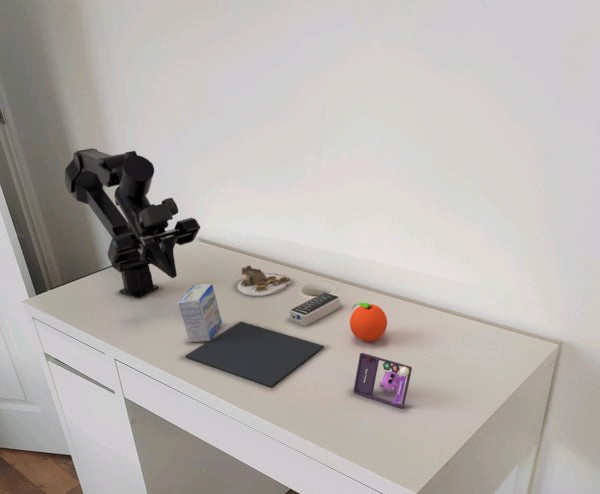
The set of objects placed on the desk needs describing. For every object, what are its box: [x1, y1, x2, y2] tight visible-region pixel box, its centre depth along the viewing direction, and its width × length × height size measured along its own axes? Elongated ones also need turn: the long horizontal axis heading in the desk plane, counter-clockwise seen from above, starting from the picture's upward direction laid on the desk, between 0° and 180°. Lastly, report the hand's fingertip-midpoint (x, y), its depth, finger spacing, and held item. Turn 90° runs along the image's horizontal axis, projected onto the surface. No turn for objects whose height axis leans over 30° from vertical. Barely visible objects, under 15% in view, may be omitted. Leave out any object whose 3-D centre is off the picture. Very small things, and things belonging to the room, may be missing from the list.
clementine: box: [349, 302, 388, 343], centre depth 114 cm, size 8×7×7 cm
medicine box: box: [177, 283, 223, 343], centre depth 118 cm, size 8×4×9 cm, turn 169°
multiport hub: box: [289, 292, 341, 327], centre depth 125 cm, size 4×11×2 cm, turn 138°
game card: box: [352, 352, 413, 409], centre depth 99 cm, size 7×5×9 cm
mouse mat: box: [184, 321, 325, 388], centre depth 113 cm, size 20×16×1 cm
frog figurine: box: [237, 265, 292, 297], centre depth 139 cm, size 12×12×4 cm
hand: (174, 276), depth 122 cm, fingers closed
